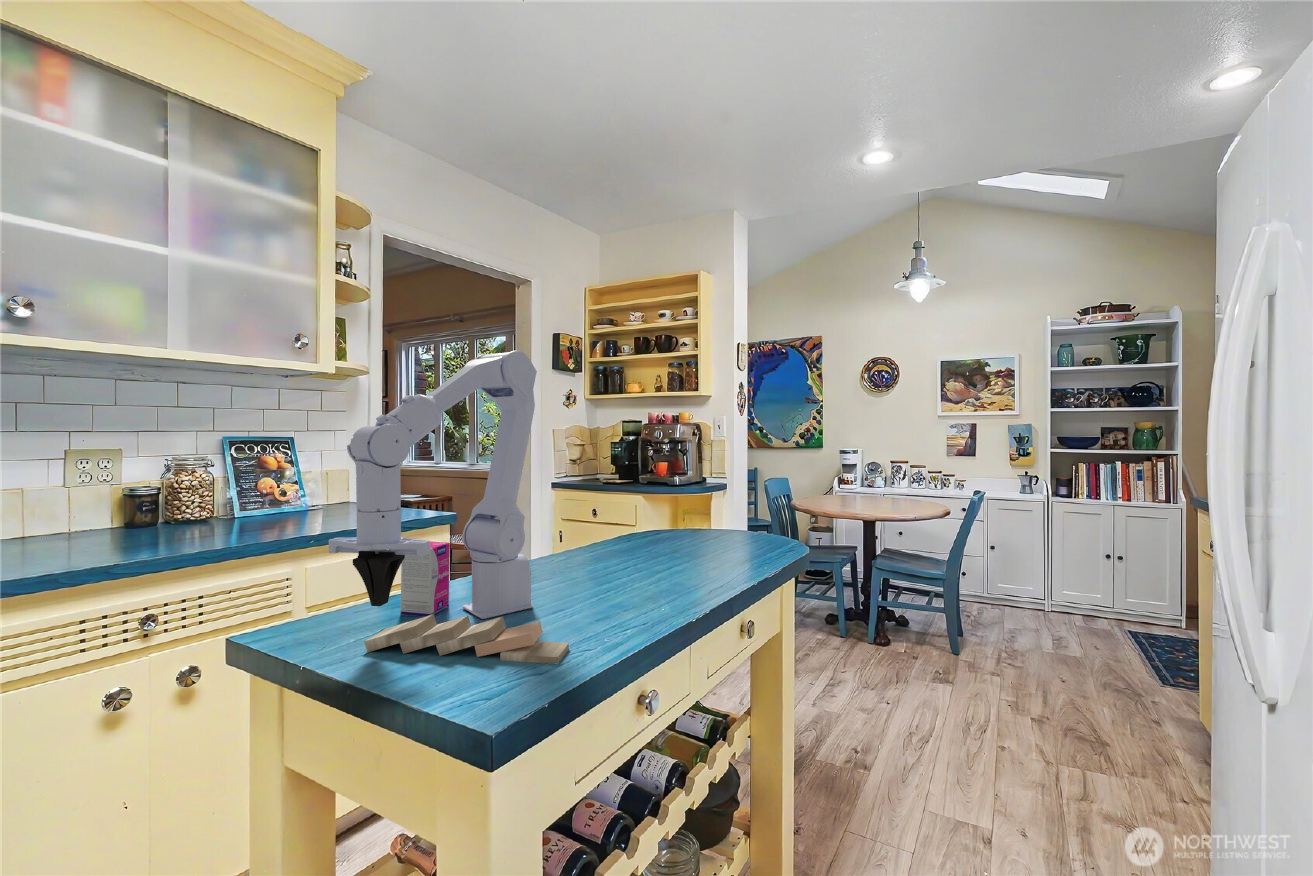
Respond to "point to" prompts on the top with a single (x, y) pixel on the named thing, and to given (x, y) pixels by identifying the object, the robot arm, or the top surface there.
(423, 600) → the supplement box
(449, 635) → the domino
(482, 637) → the domino
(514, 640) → the domino
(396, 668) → the top surface
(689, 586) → the top surface
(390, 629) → the domino
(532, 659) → the domino
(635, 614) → the top surface
